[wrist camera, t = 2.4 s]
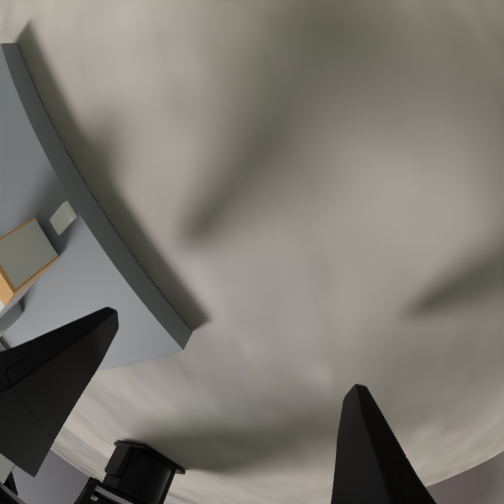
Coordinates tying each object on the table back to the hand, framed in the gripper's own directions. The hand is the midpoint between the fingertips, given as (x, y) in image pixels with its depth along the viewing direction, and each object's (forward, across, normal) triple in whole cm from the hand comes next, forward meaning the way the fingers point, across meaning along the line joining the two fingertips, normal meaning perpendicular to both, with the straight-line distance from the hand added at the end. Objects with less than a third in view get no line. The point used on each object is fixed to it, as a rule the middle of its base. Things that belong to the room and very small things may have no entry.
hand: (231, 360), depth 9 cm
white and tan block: (+1, +13, +2) cm, 13 cm away
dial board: (+3, +16, +3) cm, 17 cm away
